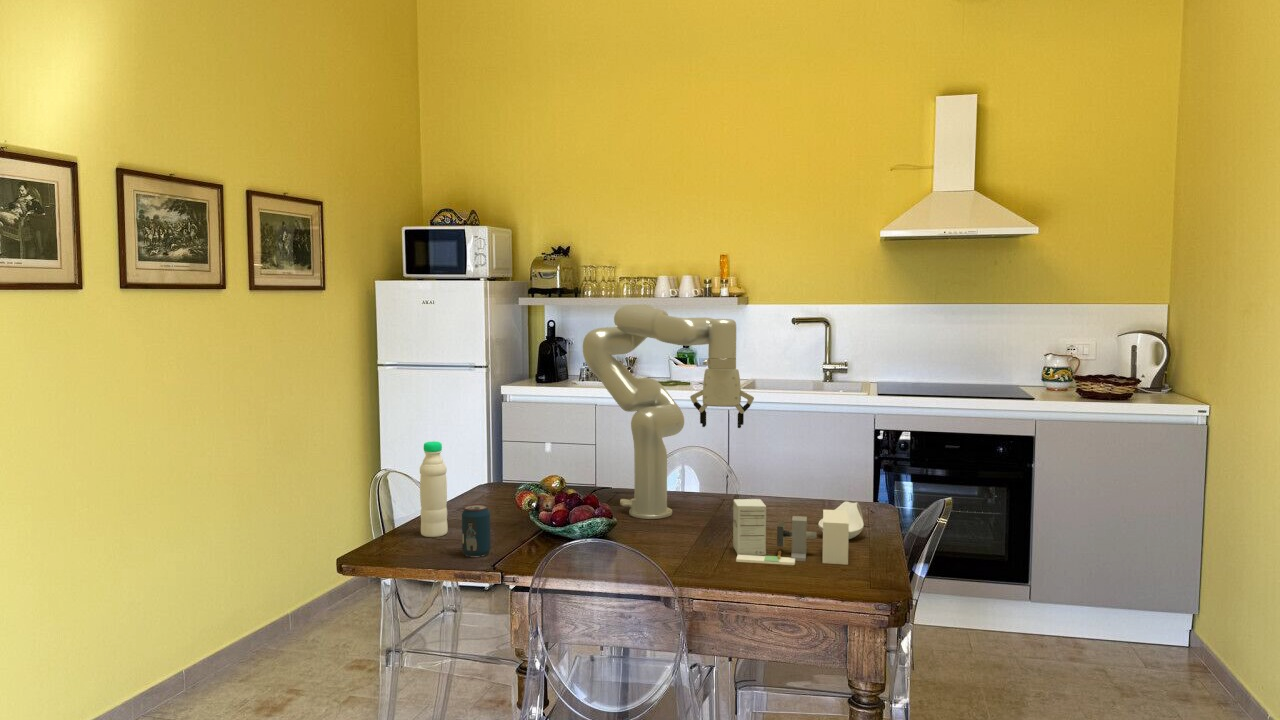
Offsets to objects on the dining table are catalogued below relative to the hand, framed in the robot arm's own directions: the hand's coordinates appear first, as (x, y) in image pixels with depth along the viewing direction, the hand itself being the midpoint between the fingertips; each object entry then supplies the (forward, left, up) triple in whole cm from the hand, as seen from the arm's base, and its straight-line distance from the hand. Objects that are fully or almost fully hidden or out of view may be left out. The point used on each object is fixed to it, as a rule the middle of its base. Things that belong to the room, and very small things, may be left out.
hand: (721, 426), depth 249 cm
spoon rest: (+34, +4, -29) cm, 44 cm away
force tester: (+20, -21, -28) cm, 41 cm away
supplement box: (+9, -20, -28) cm, 36 cm away
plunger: (+21, -22, -27) cm, 41 cm away
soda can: (-57, -36, -28) cm, 73 cm away
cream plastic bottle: (-75, -21, -28) cm, 83 cm away
